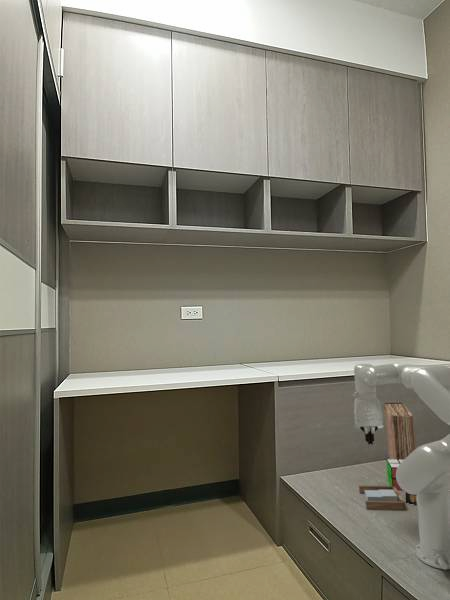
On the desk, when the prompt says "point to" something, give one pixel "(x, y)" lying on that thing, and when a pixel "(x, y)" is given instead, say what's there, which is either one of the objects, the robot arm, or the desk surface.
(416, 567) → the desk surface
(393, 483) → the puzzle cube
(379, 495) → the tile trail
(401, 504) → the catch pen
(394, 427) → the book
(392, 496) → the tile
